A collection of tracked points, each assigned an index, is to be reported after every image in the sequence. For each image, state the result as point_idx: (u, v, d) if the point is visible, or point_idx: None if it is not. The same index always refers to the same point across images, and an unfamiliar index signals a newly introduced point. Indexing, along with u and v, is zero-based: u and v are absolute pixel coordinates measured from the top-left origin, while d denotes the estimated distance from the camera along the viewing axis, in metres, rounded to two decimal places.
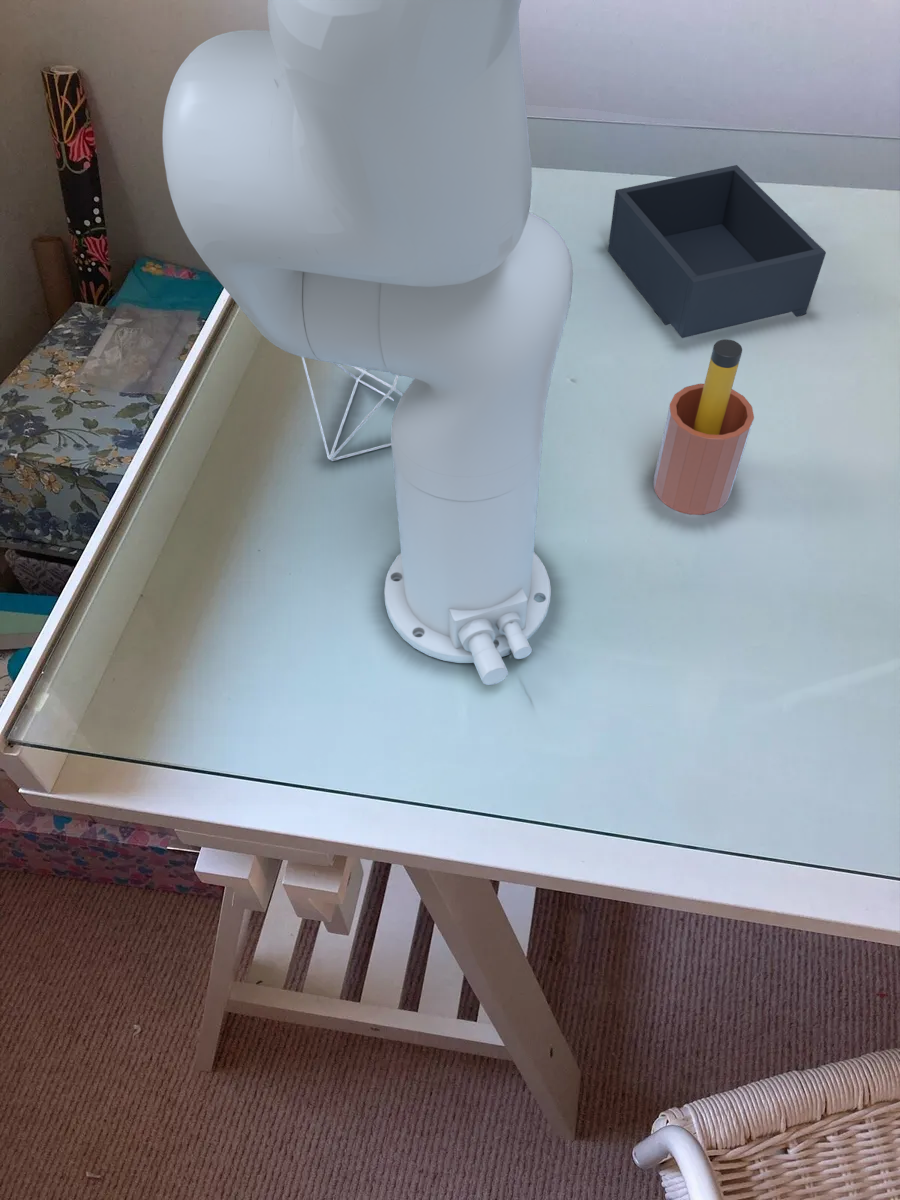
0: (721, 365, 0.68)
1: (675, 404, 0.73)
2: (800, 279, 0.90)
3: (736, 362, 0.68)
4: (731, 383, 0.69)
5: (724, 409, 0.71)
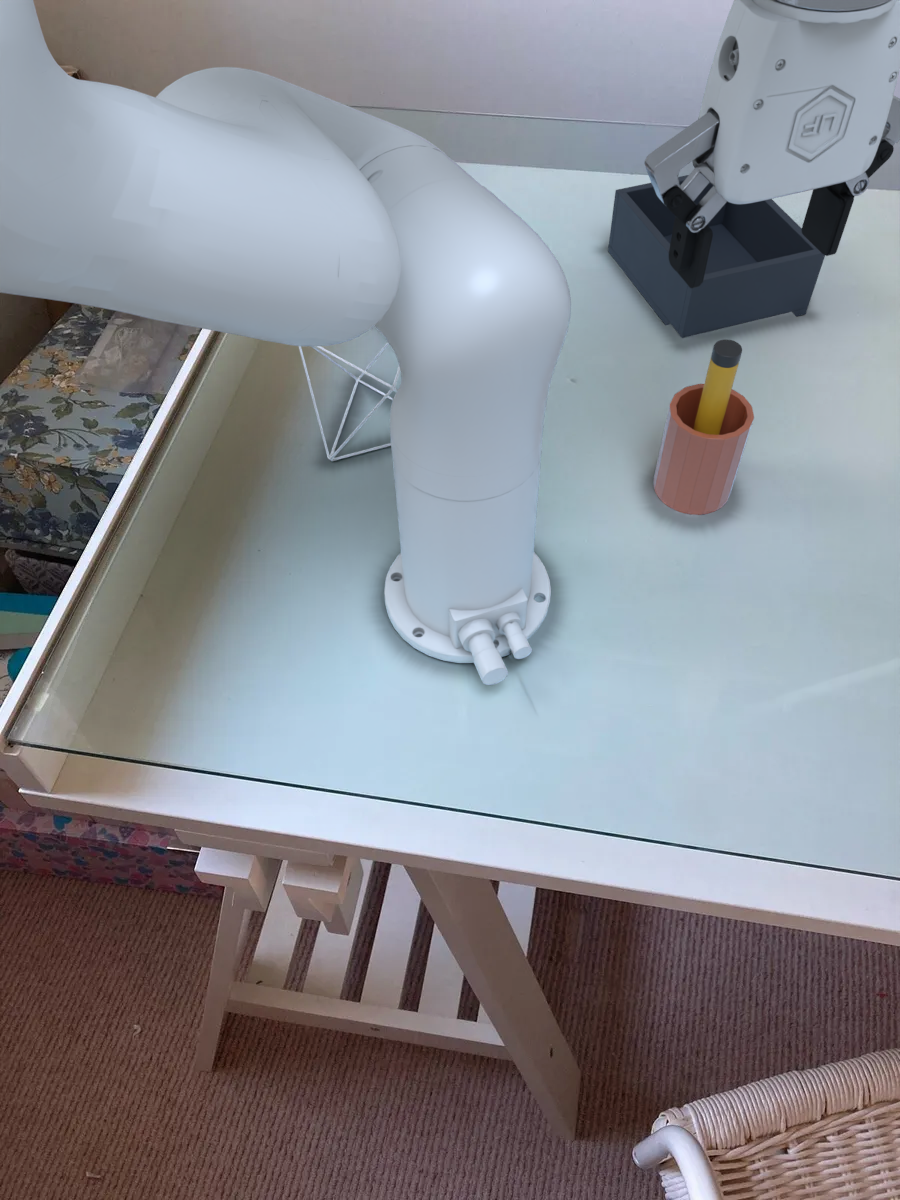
0: (721, 365, 0.68)
1: (675, 404, 0.73)
2: (800, 279, 0.90)
3: (736, 362, 0.68)
4: (731, 383, 0.69)
5: (724, 409, 0.71)
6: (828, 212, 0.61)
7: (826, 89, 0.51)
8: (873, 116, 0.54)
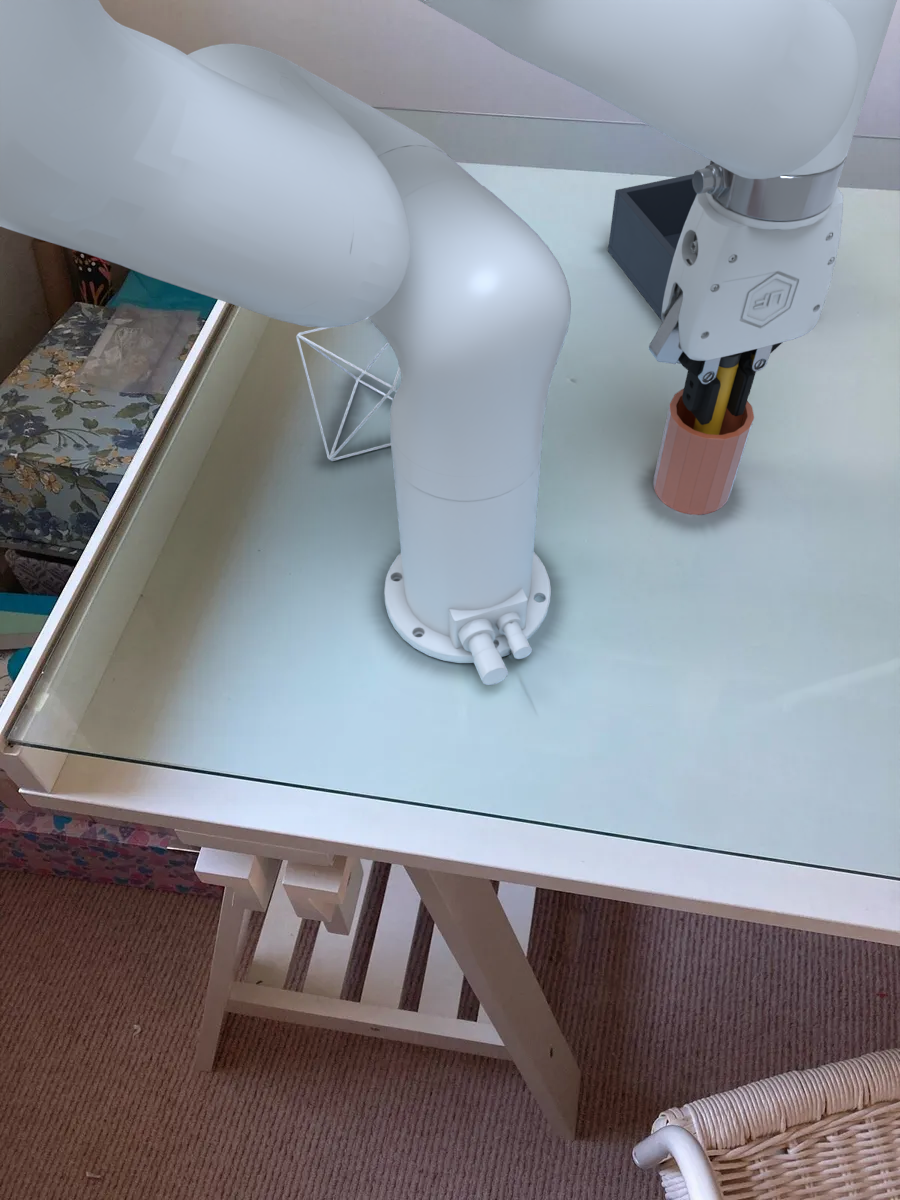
0: (721, 365, 0.68)
1: (675, 404, 0.73)
2: None
3: (736, 362, 0.68)
4: (731, 383, 0.69)
5: (724, 409, 0.71)
6: (734, 382, 0.70)
7: (773, 274, 0.60)
8: (815, 290, 0.62)
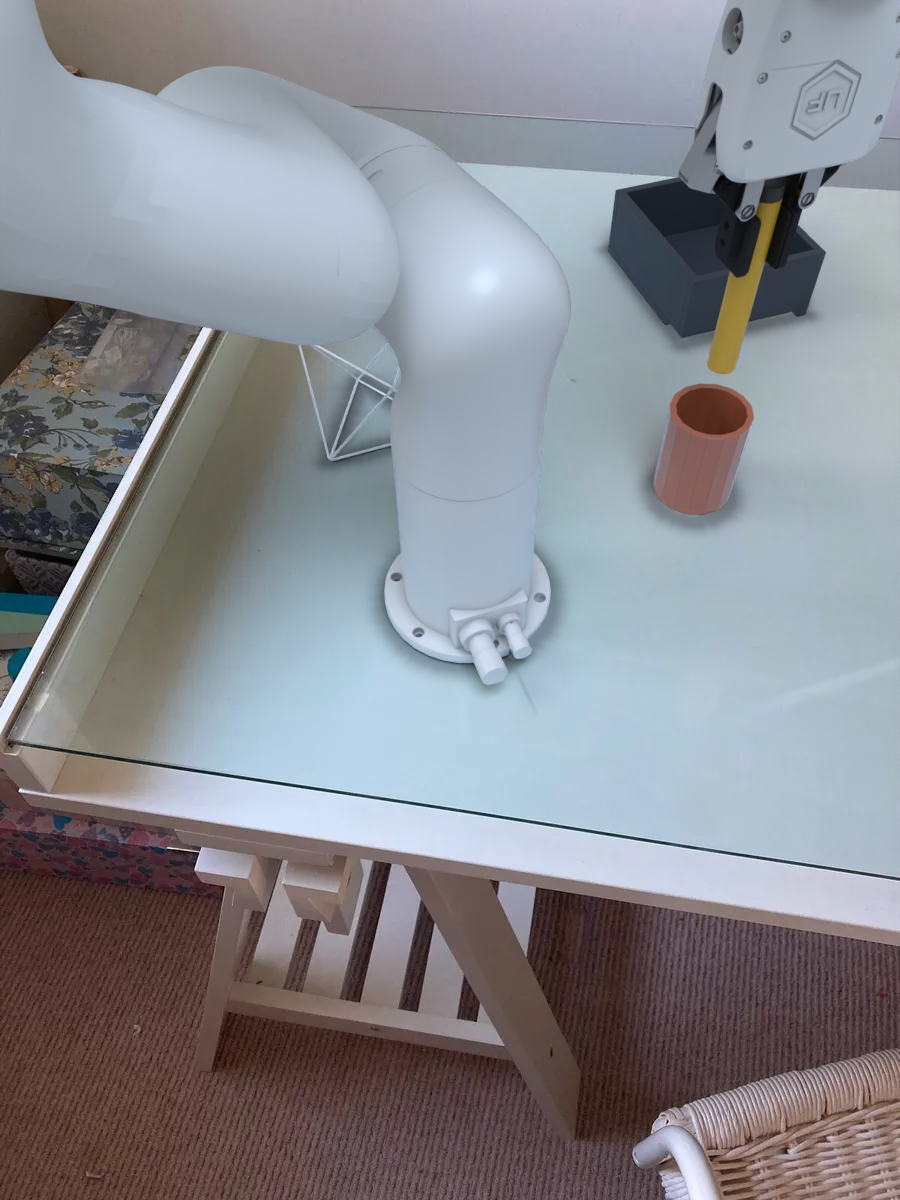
0: (762, 199, 0.58)
1: (675, 404, 0.73)
2: (800, 279, 0.90)
3: (780, 196, 0.58)
4: (772, 225, 0.59)
5: (763, 260, 0.61)
6: (776, 225, 0.60)
7: (832, 64, 0.50)
8: (879, 94, 0.52)
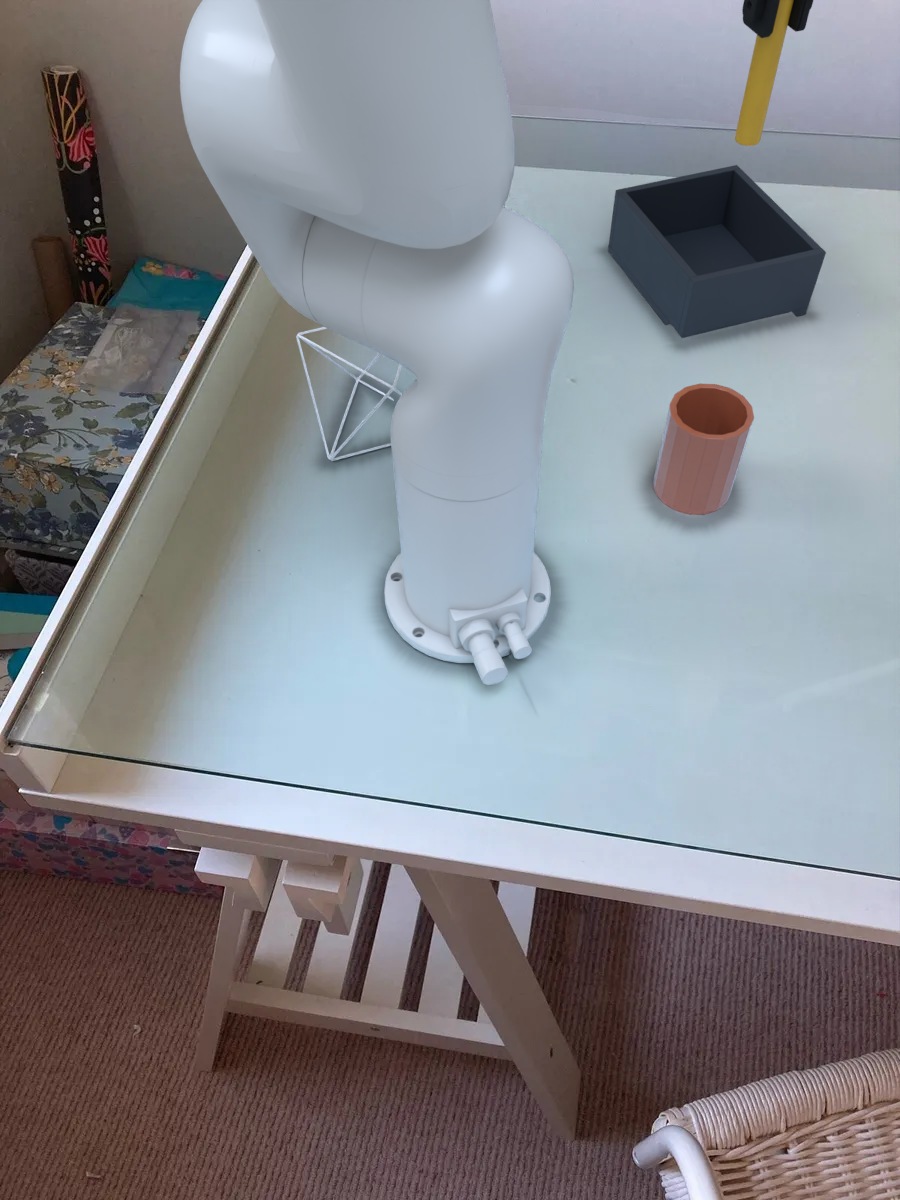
0: None
1: (675, 404, 0.73)
2: (800, 279, 0.90)
3: None
4: None
5: (786, 23, 0.69)
6: None
7: None
8: None
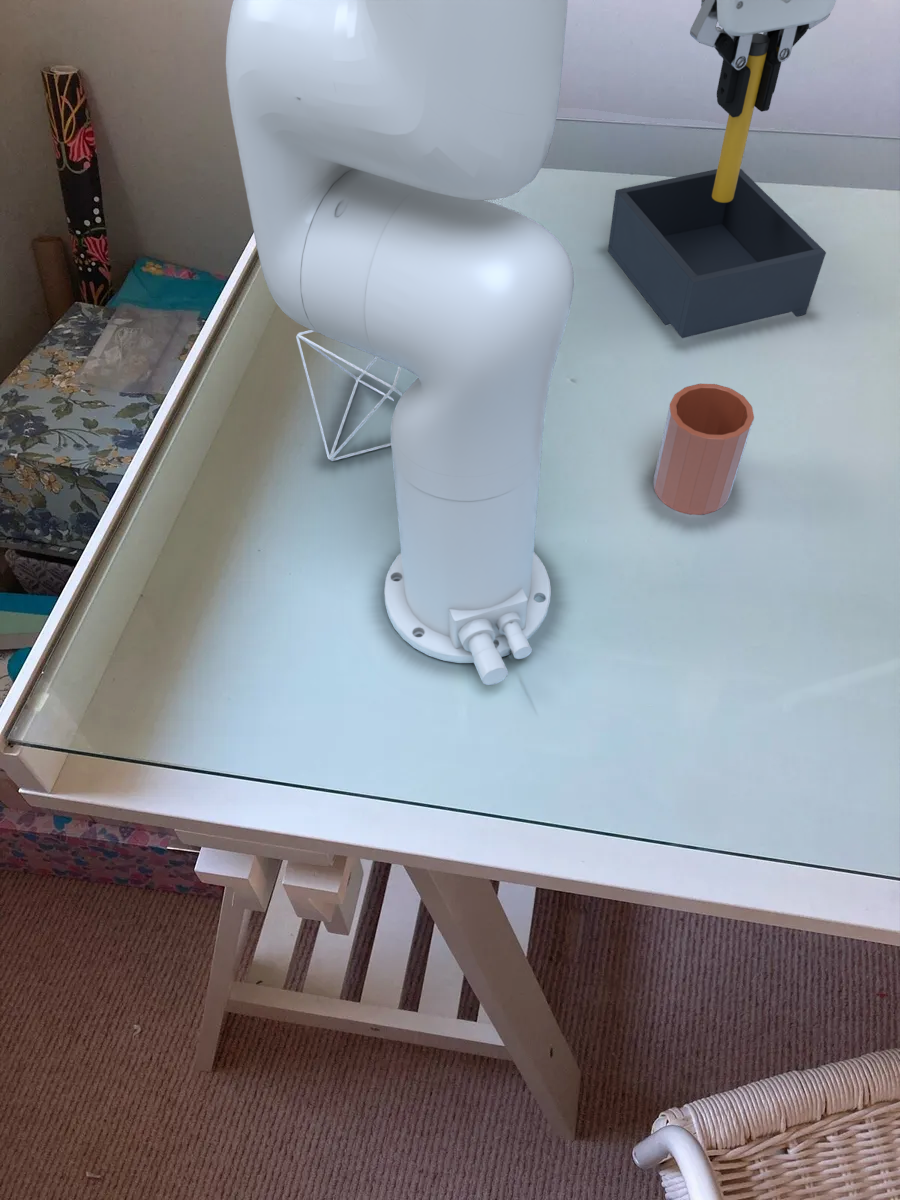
0: (752, 53, 0.79)
1: (675, 404, 0.73)
2: (800, 279, 0.90)
3: (764, 50, 0.79)
4: (759, 74, 0.81)
5: (753, 104, 0.83)
6: (762, 76, 0.81)
7: None
8: None
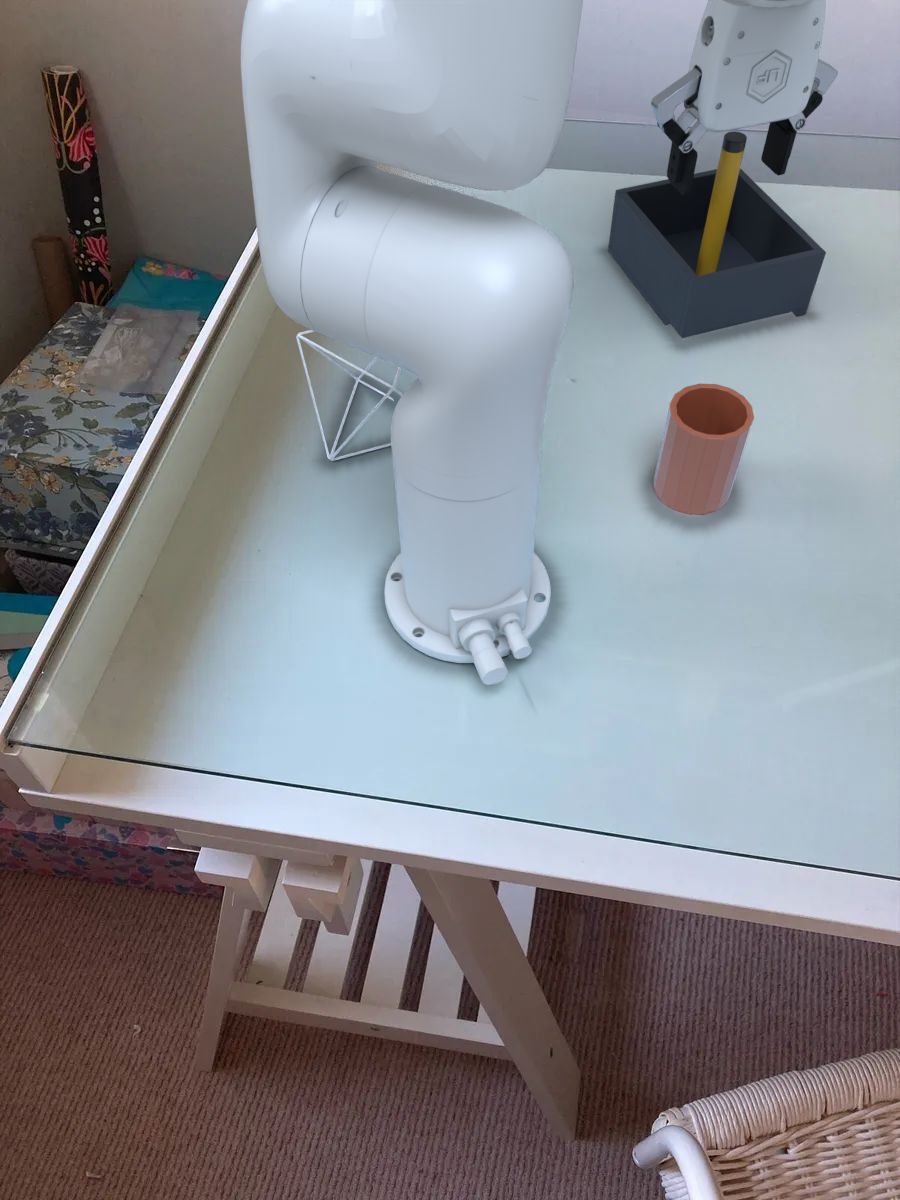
0: (730, 150, 0.86)
1: (675, 404, 0.73)
2: (800, 279, 0.90)
3: (742, 148, 0.86)
4: (738, 168, 0.87)
5: (732, 194, 0.89)
6: (778, 143, 0.87)
7: (772, 52, 0.77)
8: (805, 72, 0.80)
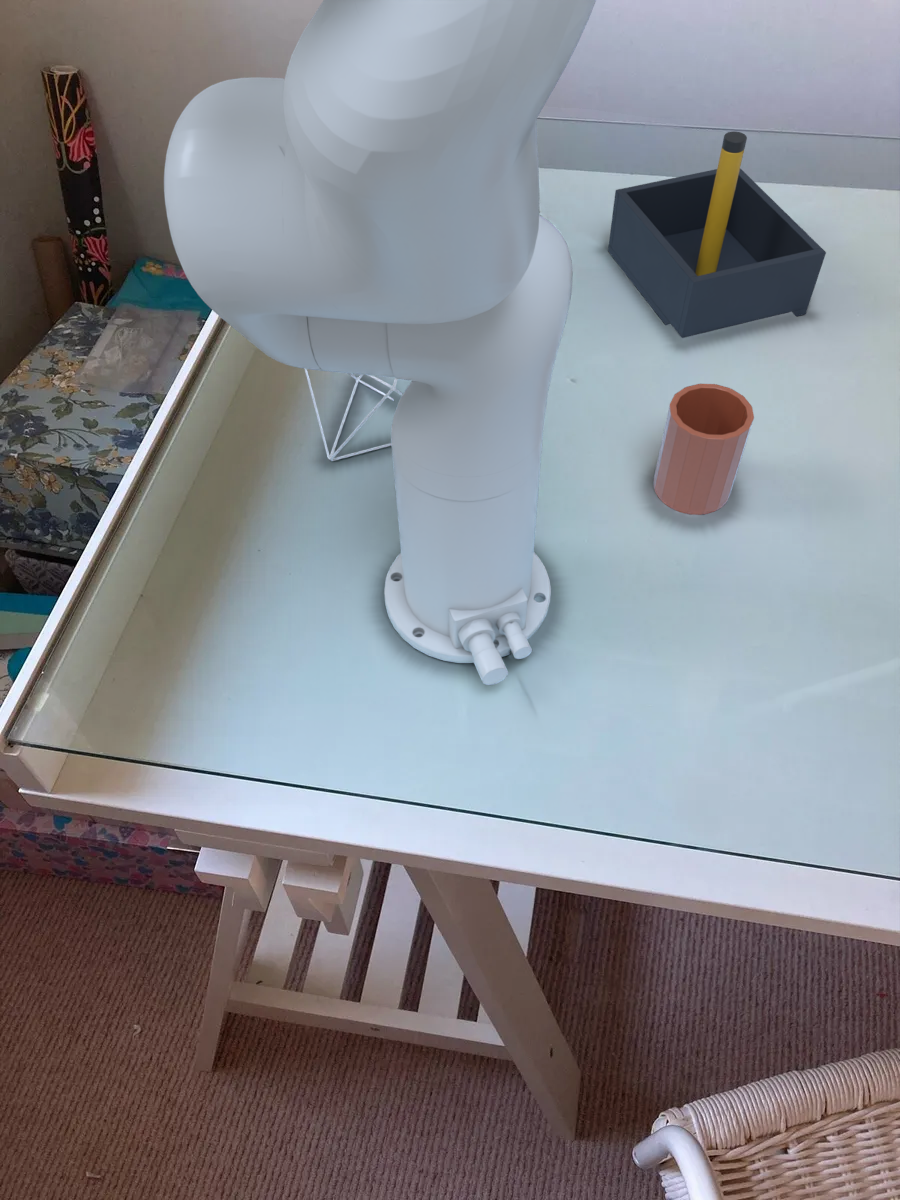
0: (730, 150, 0.86)
1: (675, 404, 0.73)
2: (800, 279, 0.90)
3: (742, 148, 0.86)
4: (738, 168, 0.87)
5: (732, 194, 0.89)
6: None
7: None
8: None
